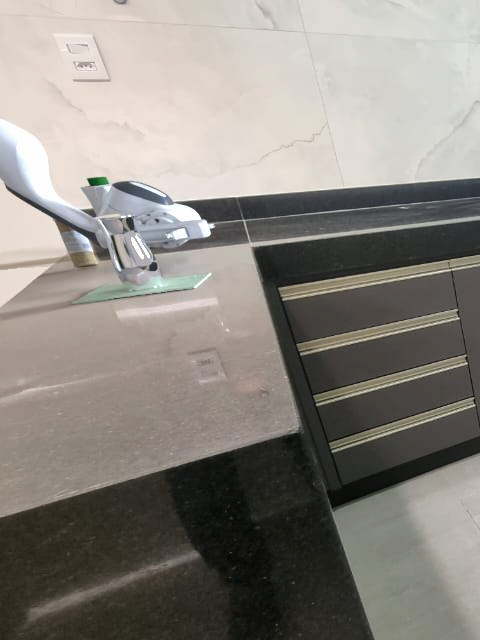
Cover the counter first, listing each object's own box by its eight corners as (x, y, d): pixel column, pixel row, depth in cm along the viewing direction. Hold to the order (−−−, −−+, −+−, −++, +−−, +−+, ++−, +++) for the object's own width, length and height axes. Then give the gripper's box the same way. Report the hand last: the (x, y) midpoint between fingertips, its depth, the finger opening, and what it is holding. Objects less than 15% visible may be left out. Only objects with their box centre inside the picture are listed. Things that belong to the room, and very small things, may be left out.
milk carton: (137, 245, 159) (106, 176, 150) (162, 245, 157) (132, 175, 149) (106, 252, 151) (71, 179, 142) (132, 252, 149) (99, 178, 141)
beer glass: (84, 217, 106) (118, 289, 112) (98, 219, 102) (133, 293, 109) (128, 211, 111) (158, 280, 117) (142, 213, 108) (172, 284, 114)
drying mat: (73, 304, 105) (72, 302, 104) (102, 287, 115) (101, 286, 115) (195, 288, 112) (194, 286, 111) (211, 274, 122) (210, 272, 122)
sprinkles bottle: (90, 267, 136) (66, 214, 133) (104, 263, 135) (81, 210, 132) (69, 268, 131) (44, 214, 128) (83, 264, 130) (59, 209, 128)
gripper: (221, 236, 133) (206, 247, 122) (119, 247, 126) (93, 259, 115) (211, 211, 131) (195, 219, 119) (107, 220, 123) (79, 230, 112)
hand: (144, 239), depth 117 cm, fingers open, 8 cm apart
